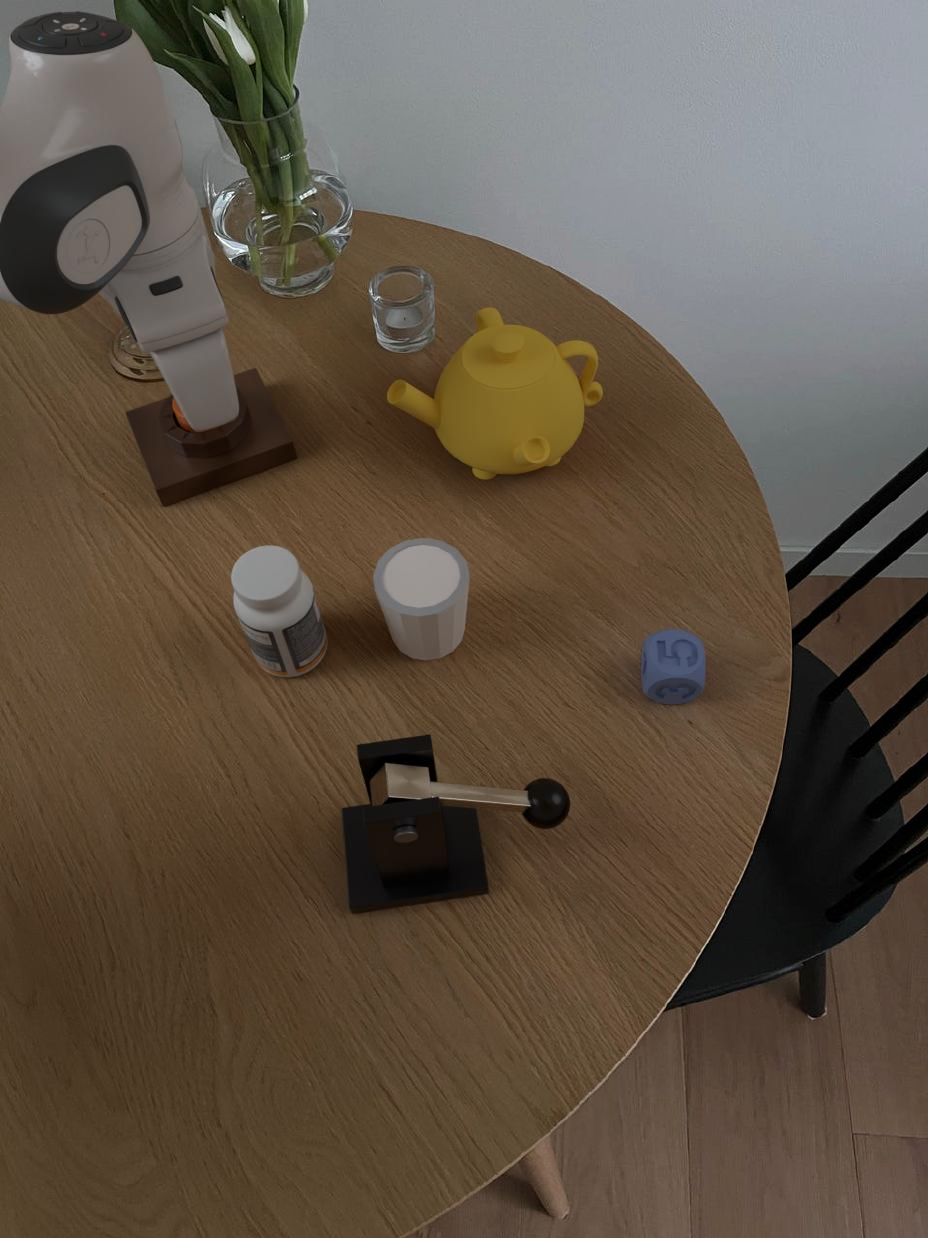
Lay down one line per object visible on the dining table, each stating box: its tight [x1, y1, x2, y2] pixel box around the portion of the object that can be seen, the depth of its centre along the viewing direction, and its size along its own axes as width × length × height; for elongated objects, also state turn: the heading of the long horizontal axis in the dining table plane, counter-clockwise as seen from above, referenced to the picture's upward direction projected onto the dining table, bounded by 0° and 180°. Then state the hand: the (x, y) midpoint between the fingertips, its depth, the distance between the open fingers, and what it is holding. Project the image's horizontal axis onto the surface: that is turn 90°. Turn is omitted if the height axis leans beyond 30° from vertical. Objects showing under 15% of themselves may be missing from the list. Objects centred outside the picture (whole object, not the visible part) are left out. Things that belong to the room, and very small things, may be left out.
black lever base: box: [341, 733, 490, 915], centre depth 66 cm, size 9×7×12 cm
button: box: [172, 398, 220, 433], centre depth 89 cm, size 4×4×2 cm
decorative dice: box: [641, 628, 707, 705], centre depth 76 cm, size 4×4×4 cm
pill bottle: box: [230, 544, 329, 678], centre depth 76 cm, size 6×6×10 cm
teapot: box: [386, 306, 604, 481], centre depth 86 cm, size 14×14×11 cm
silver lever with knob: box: [370, 763, 571, 830], centre depth 65 cm, size 13×3×3 cm, turn 98°
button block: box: [125, 367, 298, 508], centre depth 91 cm, size 12×10×4 cm
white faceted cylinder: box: [372, 537, 471, 662], centre depth 78 cm, size 7×7×7 cm
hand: (197, 392), depth 87 cm, fingers closed
